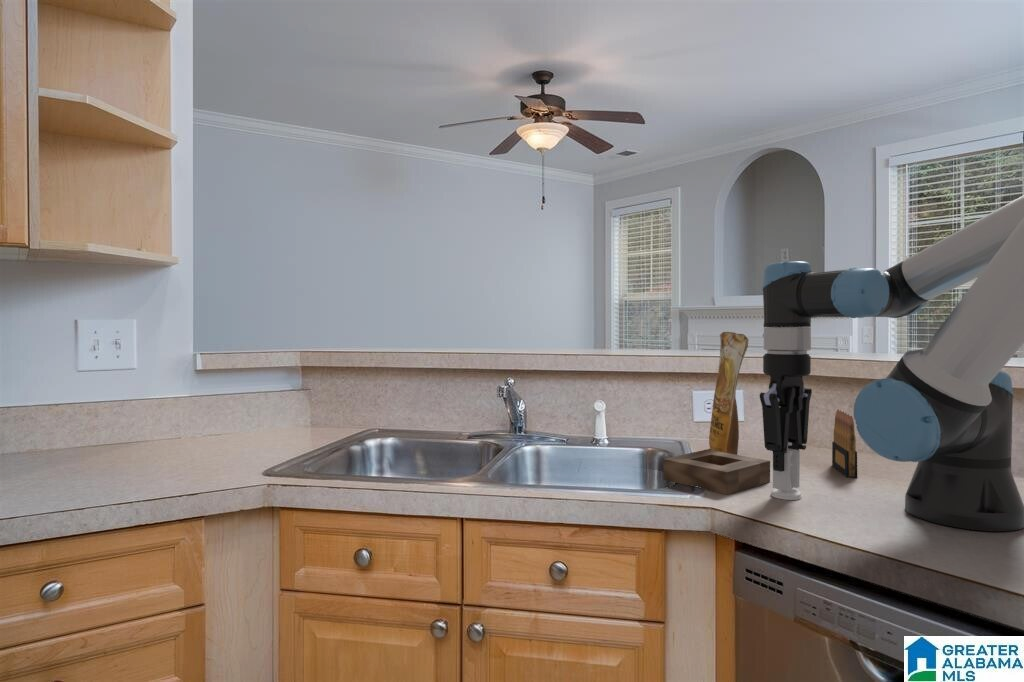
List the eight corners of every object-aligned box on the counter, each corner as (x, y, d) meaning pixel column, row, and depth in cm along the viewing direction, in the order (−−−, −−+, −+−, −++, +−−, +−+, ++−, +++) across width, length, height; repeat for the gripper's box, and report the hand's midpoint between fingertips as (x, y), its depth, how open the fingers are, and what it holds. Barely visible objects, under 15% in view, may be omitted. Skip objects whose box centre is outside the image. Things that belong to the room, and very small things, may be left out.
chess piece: (804, 500, 106) (805, 442, 106) (774, 499, 107) (774, 441, 107) (797, 493, 111) (798, 436, 111) (768, 491, 112) (768, 436, 112)
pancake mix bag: (734, 446, 153) (734, 331, 152) (749, 463, 134) (749, 332, 134) (705, 445, 154) (705, 331, 154) (717, 462, 136) (717, 332, 135)
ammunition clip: (831, 465, 132) (831, 408, 132) (841, 465, 132) (841, 408, 131) (847, 477, 122) (847, 416, 121) (857, 478, 121) (857, 416, 121)
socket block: (770, 481, 119) (770, 460, 119) (727, 494, 110) (727, 472, 110) (706, 468, 130) (706, 449, 130) (663, 479, 121) (663, 458, 121)
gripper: (789, 350, 116) (788, 476, 117) (741, 353, 107) (741, 490, 107) (830, 351, 110) (829, 484, 111) (783, 354, 101) (783, 500, 101)
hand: (786, 487), depth 109 cm, fingers closed on chess piece, 2 cm apart
